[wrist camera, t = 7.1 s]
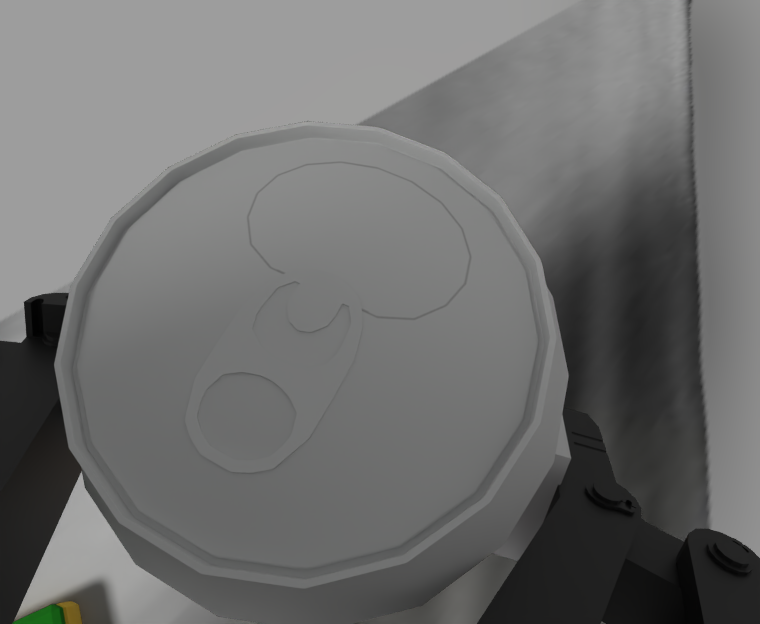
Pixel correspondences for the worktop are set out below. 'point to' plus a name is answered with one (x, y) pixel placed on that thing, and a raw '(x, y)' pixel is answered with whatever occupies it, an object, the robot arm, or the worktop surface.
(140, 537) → the supplement can
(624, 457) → the worktop surface
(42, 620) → the dish sponge
